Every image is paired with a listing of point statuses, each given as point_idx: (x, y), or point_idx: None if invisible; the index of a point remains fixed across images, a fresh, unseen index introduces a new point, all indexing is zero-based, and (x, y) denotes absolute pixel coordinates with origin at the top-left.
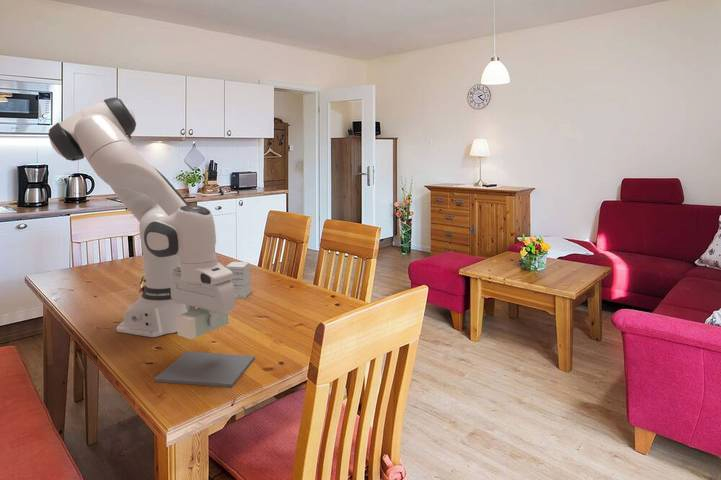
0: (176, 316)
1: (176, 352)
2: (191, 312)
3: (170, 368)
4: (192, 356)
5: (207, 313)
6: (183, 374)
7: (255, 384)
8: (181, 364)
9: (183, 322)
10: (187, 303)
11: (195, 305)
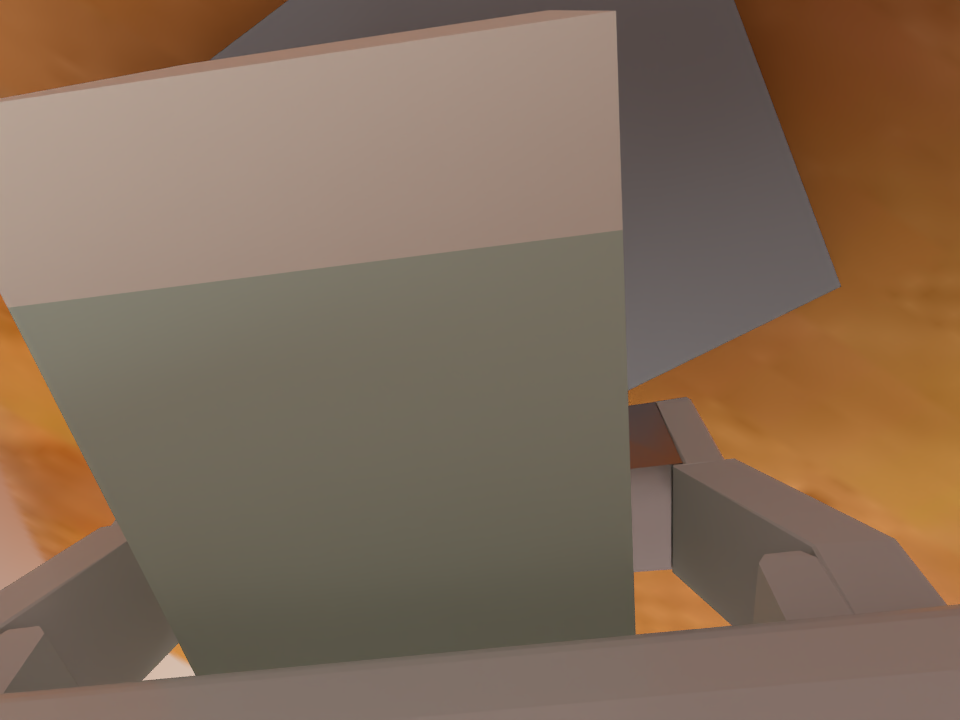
0: (605, 16)
1: (935, 246)
2: (502, 466)
3: (689, 3)
4: (715, 267)
5: (172, 624)
6: (482, 17)
7: (4, 310)
8: (668, 120)
9: (285, 56)
10: (808, 662)
11: (381, 698)
